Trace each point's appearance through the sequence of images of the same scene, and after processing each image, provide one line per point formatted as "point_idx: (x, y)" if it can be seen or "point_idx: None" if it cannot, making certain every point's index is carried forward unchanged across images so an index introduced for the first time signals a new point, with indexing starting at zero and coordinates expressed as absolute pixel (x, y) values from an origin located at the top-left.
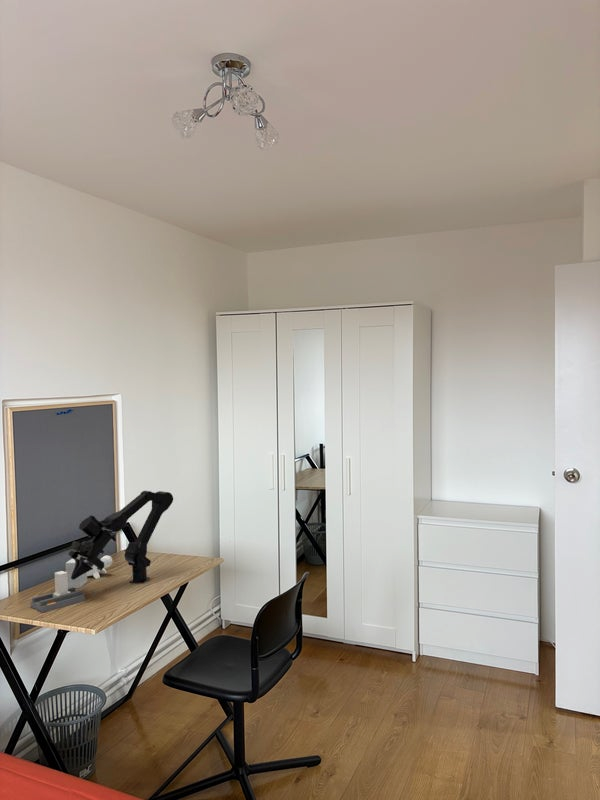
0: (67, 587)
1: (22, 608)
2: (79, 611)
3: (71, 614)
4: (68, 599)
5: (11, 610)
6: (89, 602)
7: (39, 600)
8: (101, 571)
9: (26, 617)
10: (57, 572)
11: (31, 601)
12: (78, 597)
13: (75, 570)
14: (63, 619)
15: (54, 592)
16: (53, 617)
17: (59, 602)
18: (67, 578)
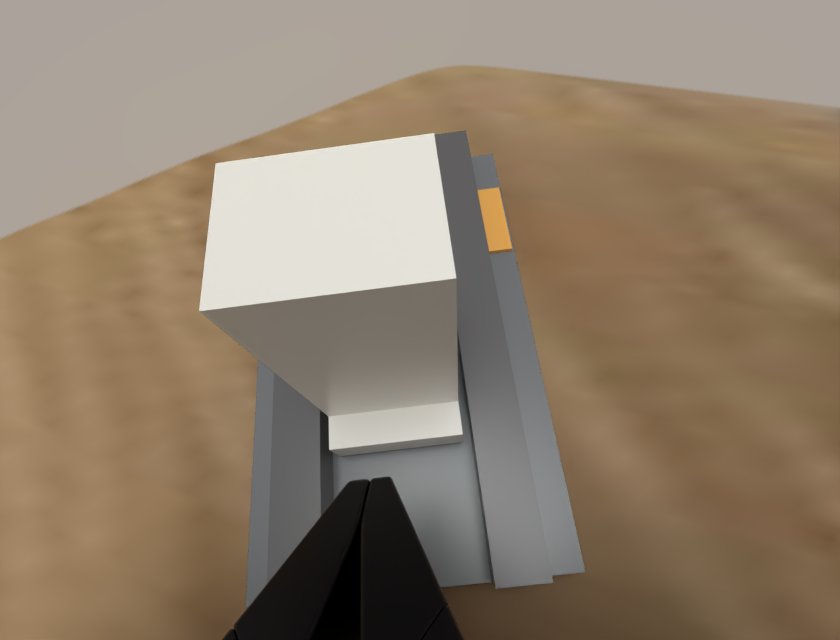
0: (308, 394)
1: (496, 141)
2: (47, 420)
3: (53, 346)
4: (264, 400)
5: (506, 89)
6: (173, 609)
7: None
8: None
9: (286, 125)
10: (401, 172)
11: (481, 157)
12: (251, 516)
13: (365, 621)
14: (23, 272)
15: (479, 315)
16: (125, 237)
17: None
18: (258, 357)
